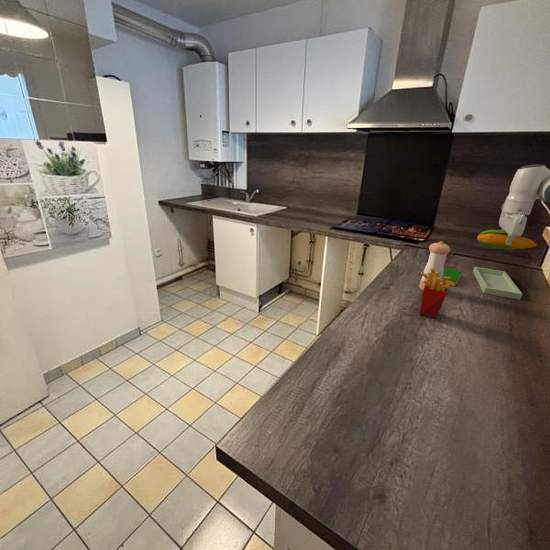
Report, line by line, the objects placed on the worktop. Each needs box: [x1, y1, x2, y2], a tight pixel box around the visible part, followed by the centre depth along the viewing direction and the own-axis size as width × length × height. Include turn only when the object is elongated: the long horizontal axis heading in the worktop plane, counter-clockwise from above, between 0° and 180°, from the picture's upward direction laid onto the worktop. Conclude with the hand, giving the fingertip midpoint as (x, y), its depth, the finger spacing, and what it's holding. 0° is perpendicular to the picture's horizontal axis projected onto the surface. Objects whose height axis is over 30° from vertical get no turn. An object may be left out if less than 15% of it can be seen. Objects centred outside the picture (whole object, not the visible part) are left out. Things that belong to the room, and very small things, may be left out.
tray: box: [472, 266, 523, 300], centre depth 119 cm, size 25×12×2 cm, turn 156°
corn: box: [476, 229, 538, 251], centre depth 119 cm, size 7×8×20 cm
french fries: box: [419, 268, 451, 320], centre depth 93 cm, size 9×8×15 cm
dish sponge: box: [441, 267, 463, 287], centre depth 123 cm, size 7×14×2 cm, turn 141°
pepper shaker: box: [418, 241, 451, 291], centre depth 110 cm, size 7×7×19 cm
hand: (504, 242), depth 120 cm, fingers closed on corn, 7 cm apart
